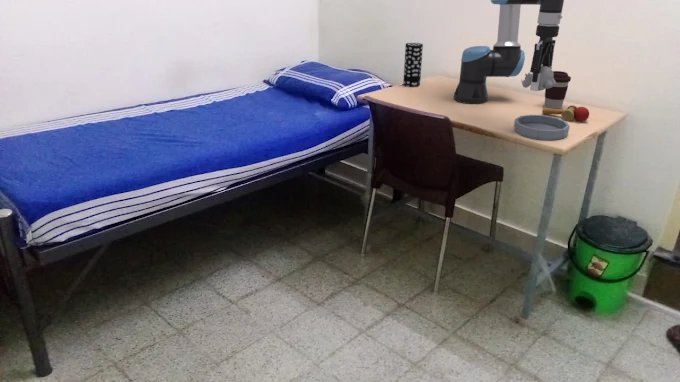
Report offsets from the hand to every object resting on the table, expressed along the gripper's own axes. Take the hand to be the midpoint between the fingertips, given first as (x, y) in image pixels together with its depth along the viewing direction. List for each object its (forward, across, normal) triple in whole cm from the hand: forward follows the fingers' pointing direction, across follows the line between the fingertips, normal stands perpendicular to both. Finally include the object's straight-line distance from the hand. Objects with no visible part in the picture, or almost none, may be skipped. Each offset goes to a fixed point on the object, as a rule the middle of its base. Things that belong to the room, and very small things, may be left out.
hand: (537, 88), depth 195 cm
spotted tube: (+15, +26, +73) cm, 79 cm away
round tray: (+16, 0, -4) cm, 16 cm away
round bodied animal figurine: (0, 0, 0) cm, 1 cm away
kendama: (+16, +23, -4) cm, 28 cm away
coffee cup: (+15, +36, +5) cm, 39 cm away
